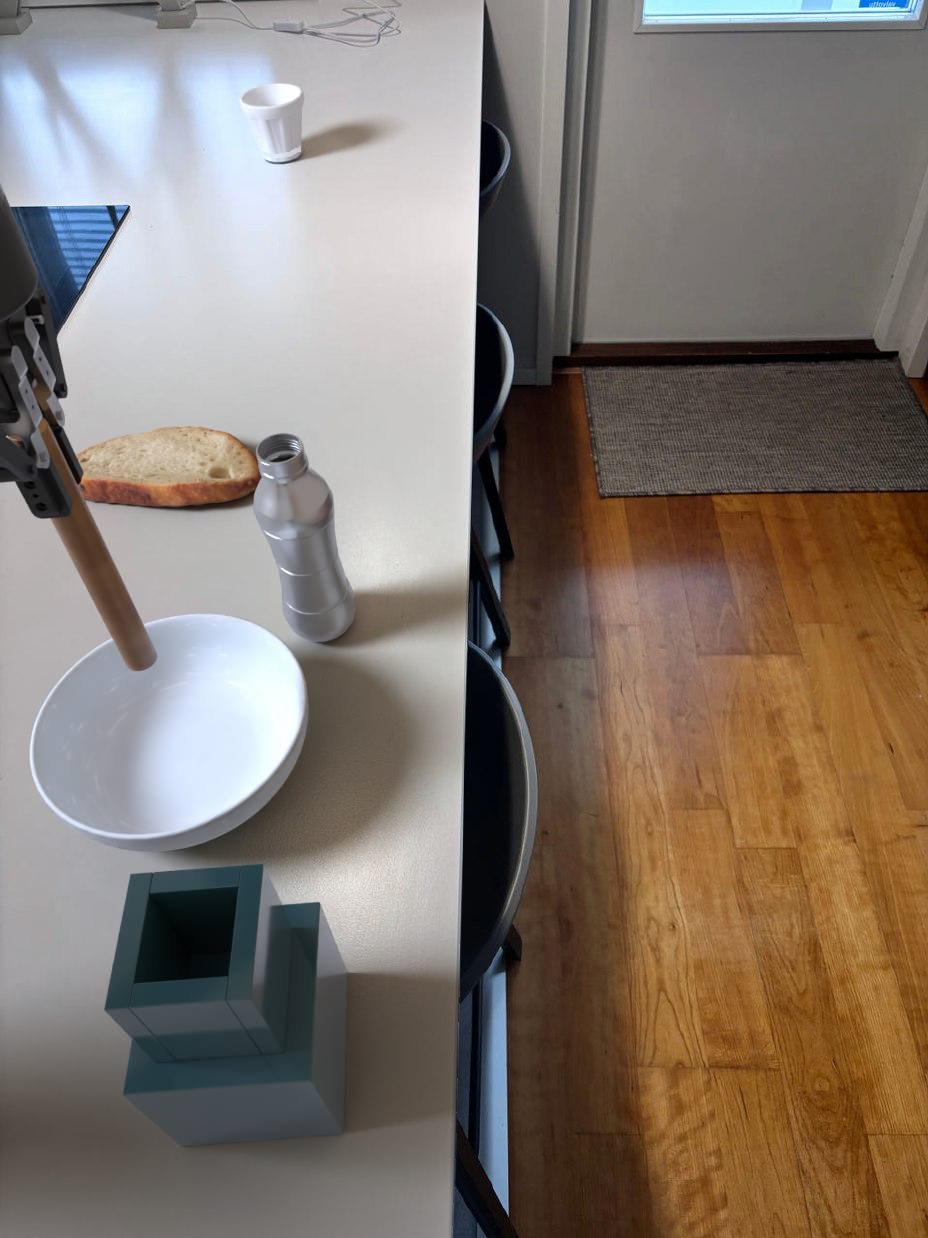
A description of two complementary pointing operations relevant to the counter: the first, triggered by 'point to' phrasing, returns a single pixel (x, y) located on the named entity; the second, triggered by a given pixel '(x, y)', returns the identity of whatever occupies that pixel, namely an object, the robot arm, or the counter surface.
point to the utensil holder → (229, 1008)
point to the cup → (275, 118)
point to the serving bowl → (172, 734)
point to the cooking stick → (97, 566)
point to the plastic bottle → (302, 540)
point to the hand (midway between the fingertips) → (60, 497)
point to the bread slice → (169, 468)
